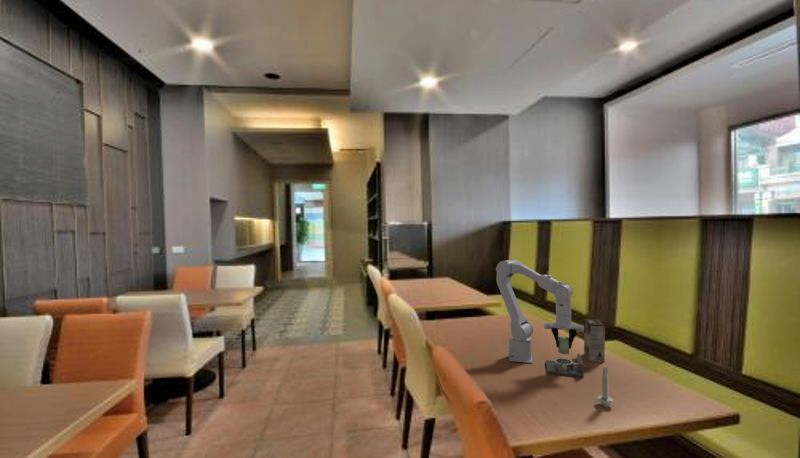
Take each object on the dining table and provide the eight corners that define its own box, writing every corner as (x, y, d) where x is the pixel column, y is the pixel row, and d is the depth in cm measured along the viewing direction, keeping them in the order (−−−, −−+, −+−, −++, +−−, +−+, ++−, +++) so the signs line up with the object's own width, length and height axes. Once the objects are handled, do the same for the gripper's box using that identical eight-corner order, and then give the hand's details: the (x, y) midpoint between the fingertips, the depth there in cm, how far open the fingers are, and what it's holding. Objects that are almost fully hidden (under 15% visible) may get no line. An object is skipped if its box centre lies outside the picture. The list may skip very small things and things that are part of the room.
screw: (597, 407, 123) (596, 400, 127) (614, 410, 121) (612, 403, 126) (597, 368, 122) (596, 362, 127) (614, 370, 121) (612, 364, 125)
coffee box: (583, 353, 170) (583, 318, 169) (598, 354, 169) (598, 319, 168) (589, 361, 161) (589, 324, 160) (605, 362, 160) (605, 325, 159)
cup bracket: (547, 373, 149) (547, 361, 149) (545, 362, 161) (545, 350, 161) (583, 377, 145) (583, 364, 145) (579, 365, 157) (579, 353, 156)
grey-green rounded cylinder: (558, 353, 151) (558, 338, 151) (558, 350, 155) (558, 335, 155) (569, 354, 150) (569, 339, 150) (569, 351, 153) (569, 336, 153)
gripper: (545, 315, 151) (545, 348, 151) (584, 317, 146) (584, 352, 147) (544, 311, 157) (544, 343, 158) (582, 313, 153) (582, 346, 153)
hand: (563, 347), depth 153 cm, fingers closed on grey-green rounded cylinder, 4 cm apart
